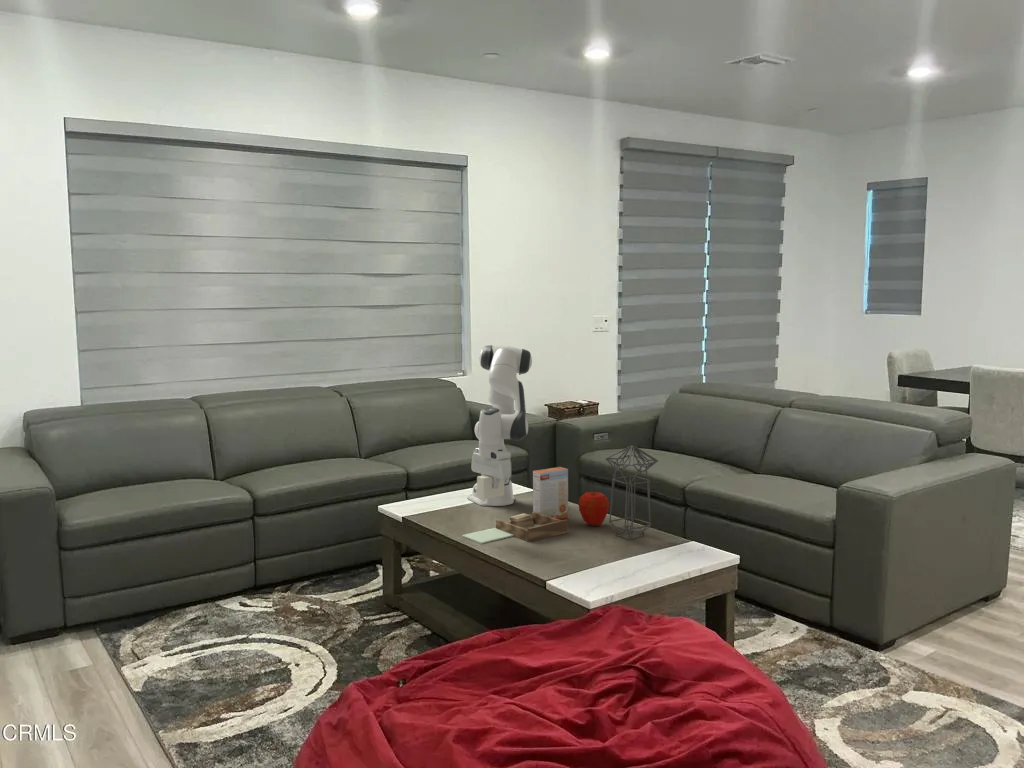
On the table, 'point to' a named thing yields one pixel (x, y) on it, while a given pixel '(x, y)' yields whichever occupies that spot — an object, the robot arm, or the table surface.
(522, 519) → the offcut stack
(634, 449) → the geometric lantern
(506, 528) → the wooden frame
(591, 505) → the apple
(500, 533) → the mat
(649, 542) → the table surface
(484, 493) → the white rectangular block
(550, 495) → the cracker box
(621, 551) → the table surface
